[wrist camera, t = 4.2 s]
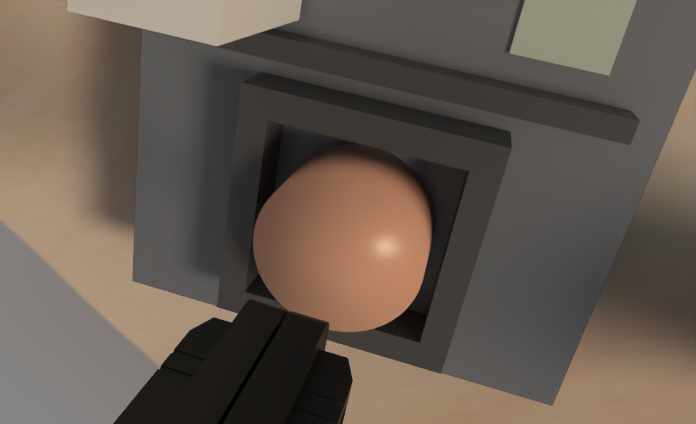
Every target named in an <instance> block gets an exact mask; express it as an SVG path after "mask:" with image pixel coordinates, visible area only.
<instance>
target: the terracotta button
mask: <svg viewBox="0 0 696 424" xmlns="http://www.w3.org/2000/svg"><path fill="white" fill-rule="evenodd" d="M434 228H435V216H434V209H433V205H432V201H431V198H430V196H429V193H428V191H427V189H426V187H425V185H424V184H423V182H422V181H421V179H420V178H419V177H418V175H417V174H416V173H415V172H414V171H413V170H412V169H411V168H410V167H409V166H408V165H407V164H406V163H404V162H403V161H402V160H401V159H399V158H397V157H396V156H394V155H393V154H391V153H388V152H386V151H384V150H382V149H379V148H375V147H371V146H367V145H362V144H344V145H337V146H333V147H329V148H326V149H324V150H321V151H319V152H317V153H316V154H314V155H312V156H311V157H309V158H308V159H307V160H305V161H304V162H303V163H302V164H301V165H300V166H299V167H298V168H297V169H296V170H295V171H294V172H293V174H292V175H291V176H290V177H289V178H288V179H287V180H286V181H285V182H284V183H283V184H282V185H281V186H280V187H279V188H278V189H277V190H276V191H275V192H274V193H273V195H272V196H271V197H270V198H269V199H268V200H267V202H266V203H265V204H264V206H263V208H262V209H261V211H260V213H259V215H258V218H257V221H256V224H255V229H254V234H253V251H254V257H255V262H256V265H257V268H258V271H259V274H260V276H261V278H262V280H263V282H264V284H265V285H266V287H267V288H268V290H269V291H270V293H271V294H272V295H273V296H274V297H275V299H276V300H277V301H278V302H279V303H280V304H281V305H282V306H283V307H284V308H286V309H287V310H288V311H293V312H296V313H300V314H303V315H306V316H310V317H313V318H316V319H320V320H323V321H327V322H329V330H332V331H340V332H359V331H366V330H370V329H374V328H377V327H380V326H382V325H385V324H387V323H389V322H390V321H392V320H394V319H395V318H397V317H398V316H399V315H401V314H402V313H403V312H404V311H405V310H406V309H407V308H408V307H409V306H410V304H411V303H412V302H413V300H414V299H415V297H416V295H417V293H418V292H419V290H420V287H421V284H422V281H423V278H424V273H425V269H426V265H427V261H428V256H429V252H430V248H431V244H432V240H433V235H434Z"/></svg>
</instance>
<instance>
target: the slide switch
mask: <svg viewBox="0 0 696 424" xmlns="http://www.w3.org/2000/svg"><path fill="white" fill-rule="evenodd" d="M301 3H302V0H68V11H70V12H74V13H78V14H83V15H87V16H91V17H95V18H99V19H104V20H108V21H112V22H116V23H120V24H125V25H129V26H133V27H137V28H142V29H146V30H150V31H154V32H158V33H163V34H167V35H171V36H175V37H179V38H184V39H188V40H192V41H196V42H201V43H205V44H209V45H213V46H220V45H223V44H226V43H229V42H232V41H235V40H238V39H241V38H244V37H248V36H251V35H254V34H257V33H260V32H263V31H266V30H269V29H273V28H276V27H279V26H282V25H285V24H288V23H291V22H294V21H297V20H299V17H300V10H301Z"/></svg>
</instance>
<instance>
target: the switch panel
mask: <svg viewBox="0 0 696 424" xmlns="http://www.w3.org/2000/svg"><path fill="white" fill-rule="evenodd" d="M695 69H696V0H302V3H301V10H300V17H299V20H297V21H294V22H291V23H288V24H285V25H282V26H279V27H276V28H273V29H269V30H266V31H263V32H260V33H257V34H254V35H251V36H248V37H244V38H241V39H238V40H235V41H232V42H229V43H226V44H223V45H220V46H213V45H209V44H205V43H201V42H196V41H192V40H188V39H184V38H179V37H175V36H171V35H167V34H163V33H158V32H154V31H150V30H146V29H142V38H141V65H140V92H139V118H138V145H137V172H136V199H135V225H134V252H133V279H132V281H134V282H138V283H141V284H145V285H148V286H151V287H155V288H158V289H161V290H165V291H168V292H171V293H175V294H178V295H181V296H185V297H188V298H192V299H195V300H198V301H202V302H205V303H208V304H212V305H215V306H217V307H219V308H222V309H226V310H229V311H232V312H236V313H239V312H240V311H241V309H242V308H243V306H244V305H245V304H246V302H247V301H248V300H250V299H252V300H256V301H259V302H262V303H266V304H269V305H272V306H276V307H279V308H282V309H286V308H284V307H283V306H282V305H281V304H280V303H279V302H278V301H277V300H276V299H275V297H274V296H273V295H272V294H271V293H270V291H269V290H268V288H267V287H266V285H265V284H264V282H263V280H262V278H261V276H260V274H259V271H258V268H257V265H256V262H255V257H254V251H253V234H254V229H255V224H256V221H257V218H258V215H259V213H260V211H261V209H262V208H263V206H264V204H265V203H266V202H267V200H268V199H269V198H270V197H271V196H272V195H273V193H274V192H275V191H276V190H277V189H278V188H279V187H280V186H281V185H282V184H283V183H284V182H285V181H286V180H287V179H288V178H289V177H290V176H291V175H292V174H293V172H294V171H295V170H296V169H297V168H298V167H299V166H300V165H301V164H302V163H303V162H304V161H305V160H307V159H308V158H309V157H311V156H312V155H314V154H316V153H317V152H319V151H321V150H324V149H326V148H329V147H333V146H337V145H344V144H362V145H367V146H371V147H375V148H379V149H382V150H384V151H386V152H388V153H391V154H393V155H394V156H396V157H397V158H399V159H401V160H402V161H403V162H404V163H406V164H407V165H408V166H409V167H410V168H411V169H412V170H413V171H414V172H415V173H416V174H417V175H418V177H419V178H420V179H421V181H422V182H423V184H424V185H425V187H426V189H427V191H428V193H429V196H430V198H431V201H432V205H433V209H434V216H435V228H434V235H433V240H432V244H431V248H430V252H429V256H428V261H427V265H426V269H425V273H424V278H423V281H422V284H421V287H420V290H419V292H418V293H417V295H416V297H415V299H414V300H413V302H412V303H411V304H410V306H409V307H408V308H407V309H406V310H405V311H404V312H403V313H402V314H401V315H399V316H398V317H397V318H395V319H394V320H392V321H390V322H389V323H387V324H385V325H382V326H380V327H377V328H374V329H370V330H366V331H359V332H340V331H332V330H329V331H328V336H327V340H330V341H333V342H336V343H340V344H343V345H346V346H350V347H353V348H357V349H360V350H363V351H367V352H370V353H373V354H377V355H380V356H383V357H387V358H390V359H393V360H397V361H400V362H404V363H407V364H410V365H414V366H417V367H420V368H424V369H427V370H430V371H434V372H437V373H440V374H441V373H444V374H447V375H450V376H454V377H457V378H460V379H464V380H467V381H470V382H474V383H477V384H481V385H484V386H487V387H491V388H494V389H497V390H501V391H504V392H507V393H511V394H514V395H518V396H521V397H524V398H528V399H531V400H534V401H538V402H541V403H544V404H548V405H551V406H552V405H553V403H554V401H555V398H556V396H557V394H558V391H559V389H560V387H561V384H562V382H563V380H564V377H565V375H566V373H567V370H568V368H569V366H570V363H571V361H572V358H573V356H574V354H575V351H576V349H577V347H578V344H579V342H580V340H581V337H582V335H583V333H584V330H585V328H586V326H587V323H588V321H589V319H590V316H591V314H592V311H593V309H594V307H595V304H596V302H597V300H598V297H599V295H600V293H601V290H602V288H603V286H604V283H605V281H606V279H607V276H608V274H609V272H610V269H611V267H612V264H613V262H614V260H615V257H616V255H617V253H618V250H619V248H620V246H621V243H622V241H623V239H624V236H625V234H626V232H627V229H628V227H629V225H630V222H631V220H632V217H633V215H634V213H635V210H636V208H637V206H638V203H639V201H640V199H641V196H642V194H643V192H644V189H645V187H646V185H647V182H648V180H649V177H650V175H651V173H652V170H653V168H654V166H655V163H656V161H657V159H658V156H659V154H660V152H661V149H662V147H663V145H664V142H665V140H666V138H667V135H668V133H669V130H670V128H671V126H672V123H673V121H674V119H675V116H676V114H677V112H678V109H679V107H680V105H681V102H682V100H683V98H684V95H685V93H686V91H687V88H688V86H689V83H690V81H691V79H692V76H693V74H694V72H695ZM286 310H287V309H286ZM289 312H290V311H289Z"/></svg>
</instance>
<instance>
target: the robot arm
mask: <svg viewBox="0 0 696 424" xmlns="http://www.w3.org/2000/svg"><path fill="white" fill-rule="evenodd" d="M328 331H329V322H327V321H323V320H320V319H316V318H313V317H310V316H306V315H303V314H300V313H296V312H293V311H290V312H289V311H288V310H286V309H282V308H279V307H276V306H272V305H269V304H266V303H262V302H259V301H256V300H252V299H250V300H248V301H247V302H246V304H245V305H244V306H243V308H242V309H241V311H240V312H239V313H238V315H237V316H236V317H235V319H234V320H233V322H232V323H231V322H227V321H224V320H221V319H218V318H212V319H210V320H208V321H206V322H205V323H203V324H201V325H199V326H197V327H195V328H193V329H192V330H190V331H189V332H188V333H187V335H186V336H185V337H184V338H183V339H182V341H181V342H180V343H179V344H178V346H177V347H176V348H175V349H174V352H173V353H171V354H170V355H169V356H168V358H167V359H166V360H165V361H164V363H163V364H162V365H161V368H160V370H159V369H158V370H157V371H156V372H155V373H154V375H153V376H152V377H151V378H150V380H149V381H148V382H147V383H146V384H145V386H144V387H143V388H142V389H141V390H140V392H139V393H138V394H137V395H136V397H135V398H134V399H133V400H132V401H131V403H130V404H129V405H128V407H127V408H126V409H125V410H124V411H123V412H122V414H121V415H120V416H119V417H118V418H117V420H116V421H115V422H114V423H113V424H342V423H343V419H344V415H345V411H346V406H347V402H348V398H349V394H350V390H351V385H352V381H353V380H352V375H351V370H350V366H349V361H348V358H346V357H343V356H339V355H336V354H333V353H330V352H326V351H325V346H326V341H327V336H328Z"/></svg>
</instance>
